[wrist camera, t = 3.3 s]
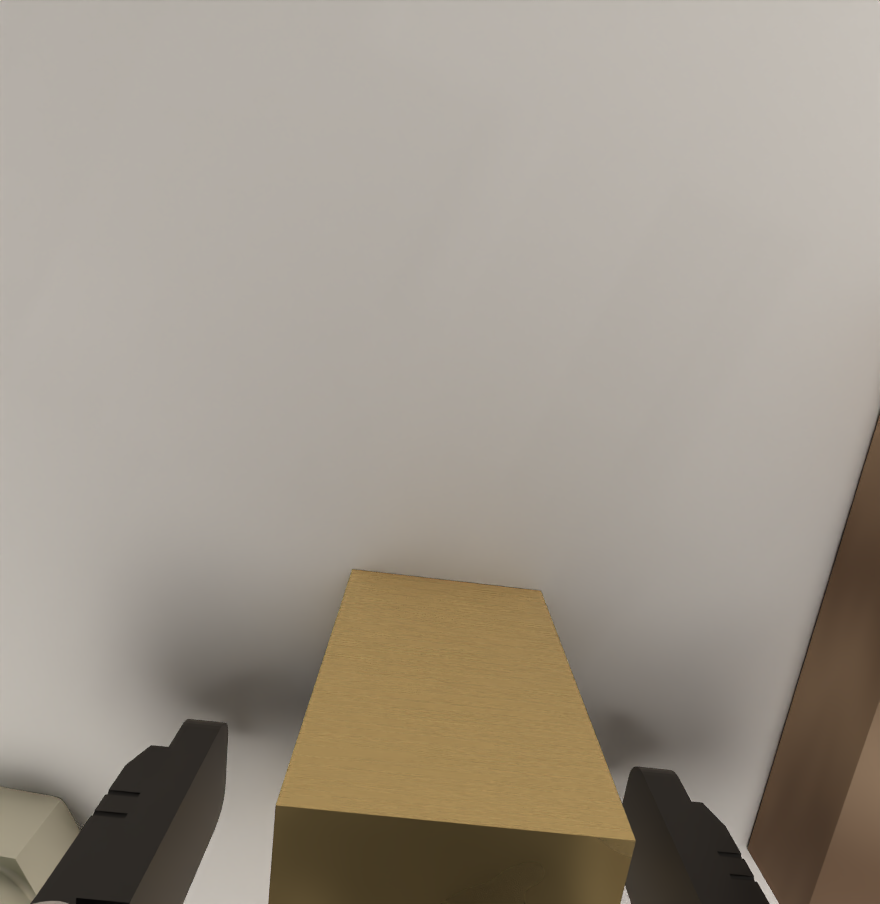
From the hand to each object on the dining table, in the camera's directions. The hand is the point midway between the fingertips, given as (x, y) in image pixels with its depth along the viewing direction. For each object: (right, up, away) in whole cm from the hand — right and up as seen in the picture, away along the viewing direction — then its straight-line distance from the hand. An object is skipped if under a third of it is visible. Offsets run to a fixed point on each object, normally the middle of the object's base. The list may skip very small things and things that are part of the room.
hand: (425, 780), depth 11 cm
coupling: (0, 0, +2) cm, 2 cm away
